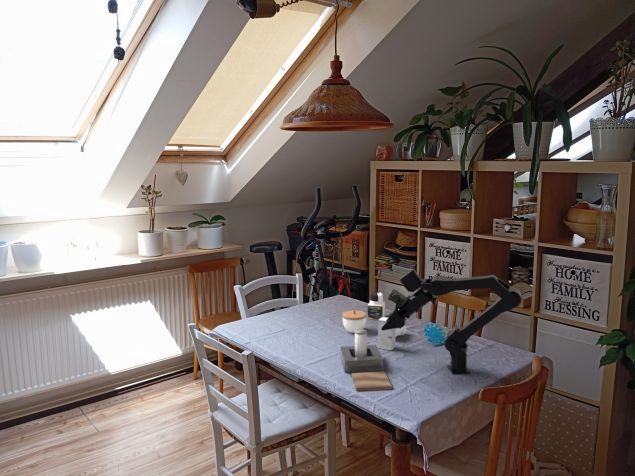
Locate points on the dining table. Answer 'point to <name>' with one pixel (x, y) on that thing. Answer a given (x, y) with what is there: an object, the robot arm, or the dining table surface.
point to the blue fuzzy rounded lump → (434, 334)
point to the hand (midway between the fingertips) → (384, 325)
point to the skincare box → (386, 336)
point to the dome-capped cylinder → (360, 343)
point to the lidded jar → (354, 320)
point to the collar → (361, 360)
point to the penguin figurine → (400, 331)
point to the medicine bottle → (376, 306)
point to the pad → (371, 381)
